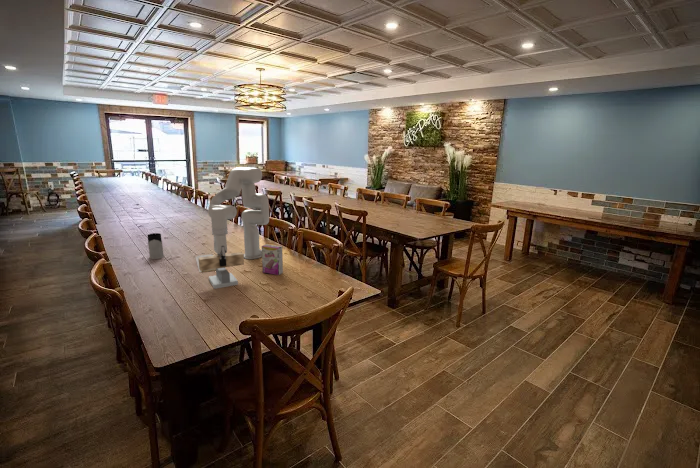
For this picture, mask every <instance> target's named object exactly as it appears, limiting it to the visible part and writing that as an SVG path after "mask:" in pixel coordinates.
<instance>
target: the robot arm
mask: <svg viewBox="0 0 700 468" xmlns="http://www.w3.org/2000/svg"><path fill="white" fill-rule="evenodd" d="M262 179H263V172H262V170H261V169H260V168H259V167H244V166H240V167H239V166H238V167H235V168H233V169H231V170H230V171H229V173H228V177H227V179H226V182H225V186H224V188H223V189H220V191H218V192H217V193H216V194H215V195H213V196H212V198H211V200H210V202H209V206H208V211H207V213H208V216H209V217H210V219H211V220H210V222H211V234H212V236H213V250H214V252H215V253H216V255H220V259H219V262H220V267H221V266H226V255H225V254H228V244H227V242H228V241H227V235H228V234H229V233H228V221H227V220H233V219H234V218H236V216H237V213H238V209H237V207H235V206H234V205H229V204H222V203H224V202H226V201H229V200H231V199H233V198H236V197H238V196H239V195H240V194H241V197H242V200H241V201H242V205H243V207H244V208H246V209H245V210H243V211H242V212H241V217H240V218H241V220H242V221H241V222H242V227H243V242H244V253H243V254H244V260H245V259H246V260H256V259H260V258H262V249H260V231H259V230H260V229H259V228H258V226H257V225H259V226H264V225H265V226H266V225H268V224H269V222H270V206H269V197H268V196H267V195H266V194H265V193H259V192H258V193H257V190H256V183H259V182H260V181H261V180H262Z"/></svg>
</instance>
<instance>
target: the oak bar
mask: <svg viewBox="0 0 700 468" xmlns="http://www.w3.org/2000/svg"><path fill="white" fill-rule="evenodd" d="M244 254H245V253H243V252H242V251H241V252H239V251H238V252H232V253H231V252H230V253H225V255H226V266H221V267H220V262H219V259H220V255H217V254H216V255H213V256H207V257H200V258H199V269H200V271H204V270H211V269H218V268H224V267H225V268H231V267H239V266H242V265H243V266H244V265H245V258H244ZM199 269H198V270H199Z"/></svg>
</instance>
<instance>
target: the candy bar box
mask: <svg viewBox="0 0 700 468" xmlns="http://www.w3.org/2000/svg"><path fill="white" fill-rule="evenodd" d="M261 250H262V257H261V267H262V274H268V275H274V276H280V275H282V274H283V273H284V269H283V268H284V267H283V265H284V264H283V261H284V260H283V258H284V257H283V246H281V245H276V244H275V245H274V244H269V243H266V244H263V245H261Z"/></svg>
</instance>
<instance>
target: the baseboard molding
mask: <svg viewBox="0 0 700 468" xmlns="http://www.w3.org/2000/svg"><path fill="white" fill-rule="evenodd" d="M196 255H197V256H196ZM207 256H214V255H213V253H210V252H209V253H207V254H206V252H202V254H200V255H199V254H195V255H193V258H195V260H196V265H197V269H198V272H199V274H200V273H205V272H206V273H207V272H213V271H215V272H216V269H211V270H204V271H200V269H199V258H200V257H207Z"/></svg>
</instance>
